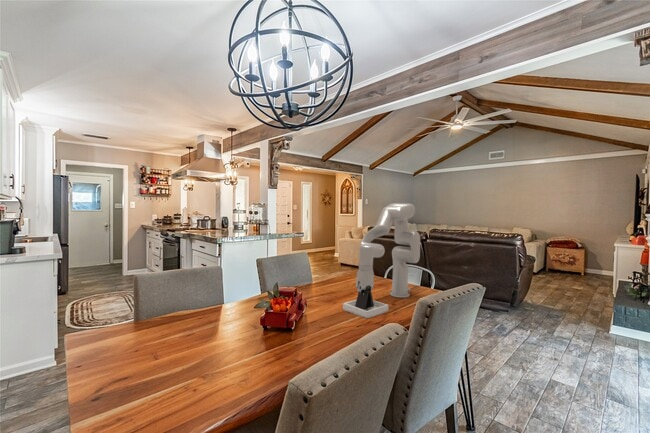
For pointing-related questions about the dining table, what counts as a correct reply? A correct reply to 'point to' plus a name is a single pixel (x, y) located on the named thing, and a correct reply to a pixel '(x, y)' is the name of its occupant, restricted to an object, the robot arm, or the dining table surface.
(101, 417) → the dining table surface
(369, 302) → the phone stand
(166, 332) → the dining table surface
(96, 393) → the dining table surface
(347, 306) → the tray
